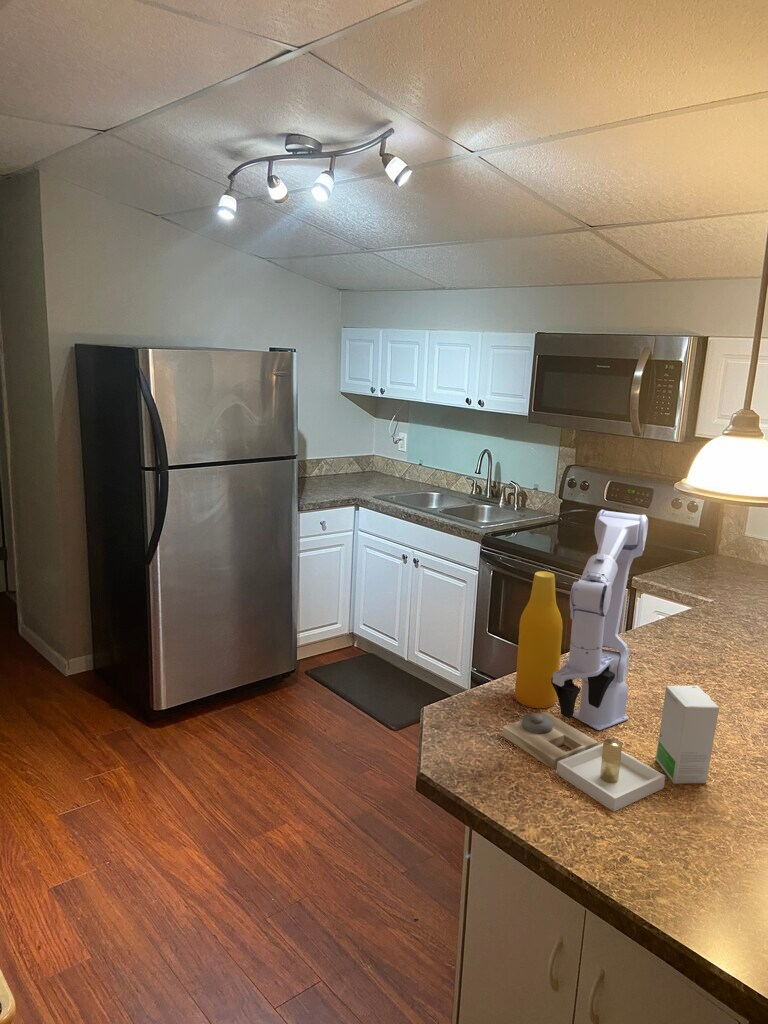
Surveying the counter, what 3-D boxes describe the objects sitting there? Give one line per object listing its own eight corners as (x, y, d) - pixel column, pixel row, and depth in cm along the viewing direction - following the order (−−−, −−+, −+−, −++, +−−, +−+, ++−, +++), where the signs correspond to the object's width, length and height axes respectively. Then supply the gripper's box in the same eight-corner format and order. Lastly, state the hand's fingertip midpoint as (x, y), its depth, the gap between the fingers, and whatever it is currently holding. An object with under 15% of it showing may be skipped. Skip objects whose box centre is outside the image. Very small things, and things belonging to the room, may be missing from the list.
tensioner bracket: (545, 720, 156) (546, 702, 155) (597, 751, 144) (599, 732, 143) (502, 735, 149) (503, 717, 148) (553, 769, 138) (554, 749, 137)
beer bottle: (529, 712, 159) (538, 582, 152) (506, 693, 167) (514, 570, 161) (565, 705, 162) (576, 578, 156) (541, 687, 171) (550, 566, 164)
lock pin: (604, 771, 137) (608, 736, 135) (621, 777, 134) (625, 742, 133) (597, 778, 134) (600, 743, 133) (613, 785, 132) (617, 750, 131)
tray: (605, 753, 143) (606, 742, 143) (663, 788, 133) (665, 775, 132) (556, 773, 136) (557, 761, 136) (613, 811, 125) (615, 798, 125)
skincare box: (654, 759, 142) (663, 684, 138) (688, 759, 142) (697, 683, 139) (674, 785, 134) (684, 705, 130) (710, 784, 134) (720, 705, 130)
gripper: (595, 628, 145) (589, 692, 148) (542, 644, 137) (537, 711, 140) (625, 641, 139) (618, 707, 142) (571, 658, 131) (566, 728, 134)
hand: (580, 710), depth 141 cm, fingers open, 7 cm apart
